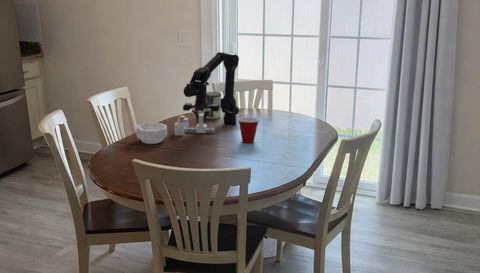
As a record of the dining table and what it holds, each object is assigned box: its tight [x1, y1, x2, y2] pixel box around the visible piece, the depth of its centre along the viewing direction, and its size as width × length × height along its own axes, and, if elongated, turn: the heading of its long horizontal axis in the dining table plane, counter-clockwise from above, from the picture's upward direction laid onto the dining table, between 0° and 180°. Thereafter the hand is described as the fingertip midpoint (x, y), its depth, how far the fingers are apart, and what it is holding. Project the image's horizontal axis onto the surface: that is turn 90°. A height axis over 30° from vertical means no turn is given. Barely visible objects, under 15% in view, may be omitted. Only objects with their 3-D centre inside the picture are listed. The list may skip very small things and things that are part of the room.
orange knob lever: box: [177, 115, 186, 122], centre depth 262 cm, size 4×4×5 cm
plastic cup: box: [237, 117, 260, 144], centre depth 247 cm, size 11×11×12 cm
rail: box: [186, 127, 215, 134], centre depth 263 cm, size 14×3×2 cm, turn 86°
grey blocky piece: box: [174, 117, 190, 136], centre depth 263 cm, size 5×14×6 cm, turn 176°
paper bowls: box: [135, 122, 168, 145], centre depth 246 cm, size 15×15×8 cm
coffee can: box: [206, 91, 222, 120], centre depth 295 cm, size 10×10×14 cm
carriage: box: [195, 113, 208, 134], centre depth 262 cm, size 5×5×9 cm
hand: (201, 122), depth 262 cm, fingers closed on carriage, 2 cm apart
